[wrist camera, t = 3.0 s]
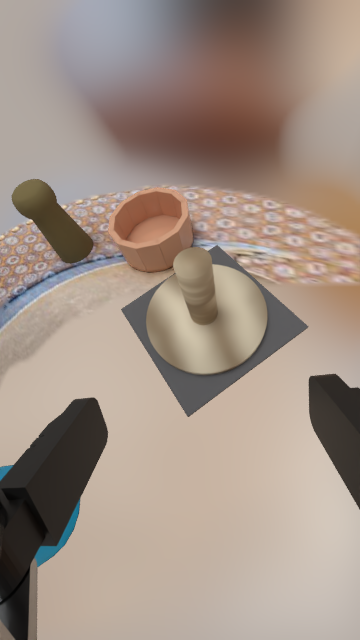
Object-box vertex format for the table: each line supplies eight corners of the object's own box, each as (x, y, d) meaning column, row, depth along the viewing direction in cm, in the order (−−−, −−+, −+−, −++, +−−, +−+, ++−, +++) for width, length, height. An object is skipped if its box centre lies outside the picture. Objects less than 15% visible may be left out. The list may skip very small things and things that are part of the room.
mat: (188, 416, 24) (187, 416, 23) (122, 310, 31) (121, 309, 31) (307, 328, 25) (308, 326, 25) (217, 247, 33) (217, 245, 32)
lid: (190, 402, 24) (165, 383, 15) (130, 310, 30) (88, 258, 22) (293, 325, 25) (328, 266, 16) (215, 253, 32) (209, 182, 23)
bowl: (144, 285, 32) (131, 262, 28) (112, 242, 37) (96, 217, 33) (208, 243, 33) (204, 214, 29) (168, 207, 38) (160, 177, 34)
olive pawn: (87, 262, 37) (35, 201, 27) (54, 264, 38) (-6, 206, 28) (97, 234, 39) (53, 168, 29) (66, 236, 40) (14, 174, 31)
